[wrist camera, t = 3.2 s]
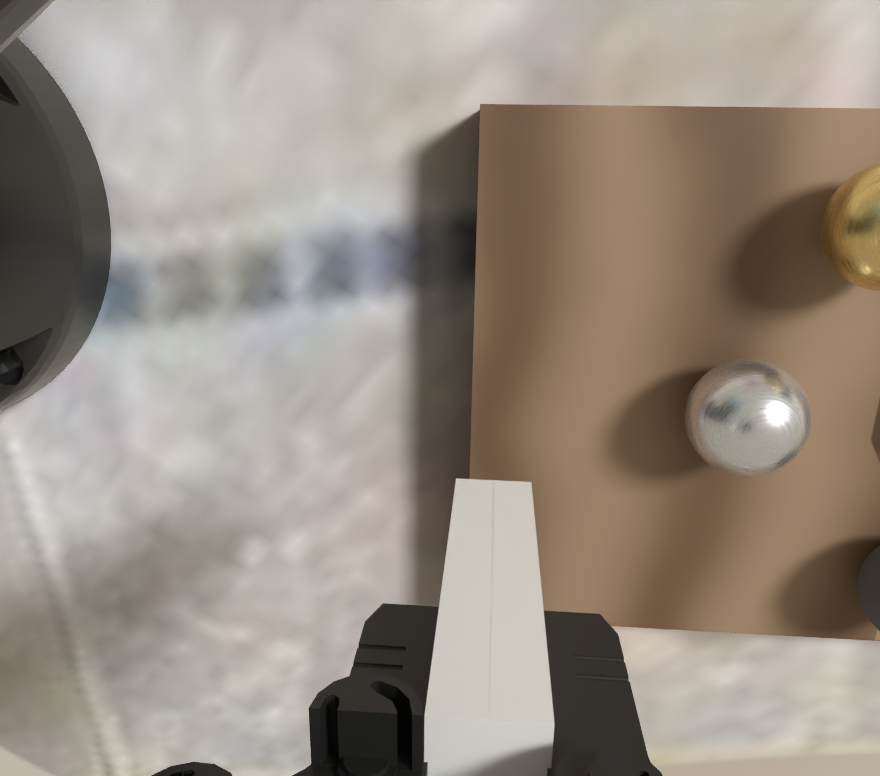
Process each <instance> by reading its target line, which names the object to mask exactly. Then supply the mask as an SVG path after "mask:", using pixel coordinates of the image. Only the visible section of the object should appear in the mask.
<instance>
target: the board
mask: <svg viewBox="0 0 880 776" xmlns="http://www.w3.org/2000/svg"><path fill="white" fill-rule="evenodd" d="M878 163H880V109H861V108H771V107H681V106H591V105H501V104H480V128H479V162H478V197H477V232H476V266H475V301H474V336H473V371H472V405H471V440H470V475H469V479H478V480H500V481H522V482H531V483H532V494H533V504H534V515H535V525H536V536H537V546H538V556H539V567H540V577H541V588H542V598H543V609H544V611H560V612H577V613H595V614H601V615H602V617H603V618H604V619H605V620H606V621H607V622H608V624H609V625H610V626H622V627H640V628H658V629H676V630H694V631H712V632H730V633H749V634H767V635H785V636H803V637H821V638H839V639H857V640H875V641H880V631H879V630H878V629H877V628H876V627H875V626H874V625H873V624H872V623H871V622H870V620H869V619H868V617H867V616H866V614H865V613H864V611H863V609H862V606H861V604H860V601H859V597H858V591H857V581H858V575H859V571H860V569H861V566H862V564H863V562H864V561H865V559H866V558H867V557H868V555H869V554H870V553H871V552H872V551H873V550H875V549H876V548H877V547H879V546H880V291H873V290H869V289H865V288H861V287H859V286H856V285H854V284H852V283H850V282H849V281H847V280H845V279H844V278H842V277H841V276H840V275H839V274H838V273H837V272H836V271H835V270H834V269H833V268H832V267H831V265H830V264H829V263H828V261H827V259H826V257H825V255H824V252H823V249H822V246H821V241H820V224H821V219H822V215H823V213H824V210H825V207H826V205H827V204H828V202H829V200H830V198H831V197H832V195H833V194H834V193H835V192H836V190H837V189H838V188H839V187H840V186H841V185H842V184H843V183H844V182H845V181H846V180H848V179H849V178H850V177H852V176H853V175H854V174H856V173H858V172H859V171H861V170H863V169H865V168H868V167H870V166H872V165H875V164H878ZM741 359H753V360H760V361H764V362H768V363H771V364H774V365H776V366H778V367H780V368H782V369H783V370H785V371H786V372H788V373H789V374H790V375H791V376H792V377H793V378H794V379H795V380H796V381H797V382H798V383H799V384H800V385H801V387H802V388H803V390H804V392H805V394H806V396H807V398H808V400H809V403H810V408H811V414H812V424H811V430H810V434H809V437H808V440H807V442H806V444H805V446H804V448H803V449H802V451H801V452H800V453H799V455H798V456H797V457H796V458H795V459H794V460H793V461H792V462H790V463H789V464H788V465H786V466H785V467H783V468H782V469H780V470H778V471H776V472H773V473H770V474H767V475H763V476H755V477H743V476H736V475H732V474H728V473H725V472H723V471H720V470H718V469H716V468H715V467H713V466H712V465H710V464H709V463H707V462H706V461H705V460H704V459H703V458H702V457H701V456H700V455H699V454H698V453H697V451H696V450H695V449H694V447H693V446H692V444H691V442H690V440H689V437H688V435H687V432H686V427H685V407H686V403H687V400H688V397H689V394H690V392H691V390H692V389H693V387H694V386H695V384H696V383H697V382H698V381H699V379H700V378H701V377H702V376H703V375H705V374H706V373H707V372H708V371H710V370H711V369H713V368H715V367H717V366H718V365H721V364H723V363H726V362H730V361H734V360H741Z"/></svg>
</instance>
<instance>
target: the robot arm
mask: <svg viewBox="0 0 880 776" xmlns="http://www.w3.org/2000/svg"><path fill="white" fill-rule="evenodd" d="M53 1H54V0H0V411H1V410H3V409H5V408H7V407H9V406H11V405H13V404H15V403H16V402H18V401H20V400H22V399H24V398H26V397H28V396H30V395H32V394H33V393H35V392H36V391H38V390H39V389H41V388H42V387H44V386H45V385H46V384H48V383H49V382H50V381H52V380H53V379H54V378H55V377H56V376H57V375H58V374H59V373H60V372H61V371H63V370H64V369H65V367H66V366H67V365H68V364H69V363H70V362H71V361H72V360H73V358H74V357H75V356H76V354H77V353H78V352H79V350H80V349H81V347H82V346H83V344H84V342H85V341H86V339H87V338H88V336H89V334H90V332H91V330H92V328H93V326H94V324H95V322H96V319H97V316H98V314H99V311H100V309H101V305H102V302H103V299H104V296H105V291H106V287H107V282H108V276H109V268H110V257H111V229H110V217H109V210H108V203H107V197H106V193H105V188H104V184H103V180H102V176H101V173H100V169H99V166H98V163H97V160H96V157H95V155H94V152H93V149H92V147H91V144H90V142H89V140H88V137H87V135H86V133H85V131H84V128H83V126H82V124H81V123H80V121H79V119H78V117H77V115H76V113H75V111H74V109H73V108H72V106H71V104H70V103H69V101H68V99H67V98H66V96H65V95H64V93H63V92H62V90H61V89H60V87H59V86H58V84H57V83H56V82H55V80H54V79H53V77H52V76H51V75H50V74H49V72H48V71H47V70H46V68H45V67H44V66H43V65H42V63H41V62H40V61H39V60H38V59H37V58H36V57H35V56H34V54H33V53H32V52H31V51H30V50H29V49H28V48H27V47H26V46H25V45H24V44H23V43H22V42H21V41H20V40H19V39H18V38H17V36H18V35H19V34H20V33H21V32H22V31H23V30H24V29H25V28H27V27H28V26H29V25H30V24H31V23H32V22H33V21H34V20H35V19H36V18H37V17H38V16H39V15H40V14H41V13H42V12H43V11H44V10H45V9H46V8H47V7H48V6H49V5H50V4H51V3H52V2H53ZM309 722H310V743H311V765H310V766H308V767H307V768H306V769H304V770H302V771H300V772H298V773H296V774H295V775H293V776H662V774H661V773H660V771H659V770H658V769H657V768H656V767H655V766H653V765H652V764H651V762H650V760H649V757H648V755H647V751H646V747H645V743H644V739H643V735H642V730H641V726H640V722H639V718H638V714H637V710H636V706H635V702H634V698H633V694H632V690H631V686H630V682H629V681H628V673H627V669H626V665H625V662H624V657H623V653H622V649H621V645H620V641H619V637H618V634H617V633H616V632H615V630H614V629H613V628H612V627H611V626H610V625H609V624H608V622H607V621H606V620H605V619H604V618H603V617H602V615H601V614H595V613H577V612H560V611H544V609H543V598H542V588H541V577H540V567H539V556H538V546H537V536H536V525H535V515H534V504H533V494H532V483H531V482H522V481H500V480H478V479H456V483H455V490H454V498H453V505H452V513H451V520H450V528H449V535H448V543H447V550H446V558H445V565H444V573H443V580H442V588H441V595H440V603H439V607H434V606H417V605H399V604H382V605H381V606H380V607H379V608H378V609H377V610H376V611H375V612H374V613H373V614H372V615H371V616H370V617H369V618H368V619H367V620H366V621H365V624H364V627H363V631H362V634H361V638H360V641H359V648H357V652H356V655H355V659H354V664H353V667H352V669H351V673H350V676H349V677H346V678H343V679H340V680H337V681H334V682H333V683H331V684H330V685H329V686H327V687H326V688H325V689H323V690H322V691H320V692H319V693H318V694H317V696H316V697H315V699H314V701H313V702H312V704H311V705H310V707H309ZM152 776H232V774H231V773H230V772H228V771H226V770H224V769H223V768H221V767H219V766H217V765H215V764H208V763H199V762H191V763H186V764H180V765H175V766H171V767H168V768H166V769H164V770H162V771H160V772H158V773H156V774H154V775H152Z"/></svg>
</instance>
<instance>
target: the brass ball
mask: <svg viewBox="0 0 880 776" xmlns="http://www.w3.org/2000/svg"><path fill="white" fill-rule="evenodd" d="M820 241H821V246H822V249H823V252H824V255H825V257H826V259H827V261H828V263H829V264H830V265H831V267H832V268H833V269H834V270H835V271H836V272H837V273H838V274H839V275H840V276H841V277H842V278H844V279H845V280H847V281H849V282H850V283H852V284H854V285H856V286H859V287H861V288H865V289H869V290H873V291H880V163H878V164H875V165H872V166H870V167H868V168H865V169H863V170H861V171H859V172H858V173H856V174H854V175H853V176H852V177H850V178H849V179H848V180H846V181H845V182H844V183H843V184H842V185H841V186H840V187H839V188H838V189H837V190H836V192H835V193H834V194H833V195H832V197H831V198H830V200H829V202H828V204H827V205H826V207H825V210H824V213H823V215H822V219H821V224H820Z"/></svg>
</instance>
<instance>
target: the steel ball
mask: <svg viewBox="0 0 880 776" xmlns="http://www.w3.org/2000/svg"><path fill="white" fill-rule="evenodd" d="M811 424H812V414H811V408H810V403H809V400H808V398H807V396H806V394H805V392H804V390H803V388H802V387H801V385H800V384H799V383H798V382H797V381H796V380H795V379H794V378H793V377H792V376H791V375H790V374H789V373H788V372H786V371H785V370H783V369H782V368H780V367H778V366H776V365H774V364H771V363H768V362H764V361H760V360H753V359H741V360H734V361H730V362H726V363H723V364H721V365H718V366H717V367H715V368H713V369H711V370H710V371H708V372H707V373H706V374H705V375H703V376H702V377H701V378H700V379H699V381H698V382H697V383H696V384H695V386H694V387H693V389H692V390H691V392H690V394H689V397H688V400H687V403H686V407H685V427H686V432H687V435H688V437H689V440H690V442H691V444H692V446H693V447H694V449H695V450H696V451H697V453H698V454H699V455H700V456H701V457H702V458H703V459H704V460H705V461H706V462H707V463H709V464H710V465H712V466H713V467H715V468H716V469H718V470H720V471H723V472H725V473H728V474H732V475H736V476H743V477H755V476H763V475H767V474H770V473H773V472H776V471H778V470H780V469H782V468H783V467H785V466H786V465H788V464H789V463H790V462H792V461H793V460H794V459H795V458H796V457H797V456H798V455H799V453H800V452H801V451H802V449H803V448H804V446H805V444H806V442H807V440H808V437H809V434H810V430H811Z"/></svg>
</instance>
